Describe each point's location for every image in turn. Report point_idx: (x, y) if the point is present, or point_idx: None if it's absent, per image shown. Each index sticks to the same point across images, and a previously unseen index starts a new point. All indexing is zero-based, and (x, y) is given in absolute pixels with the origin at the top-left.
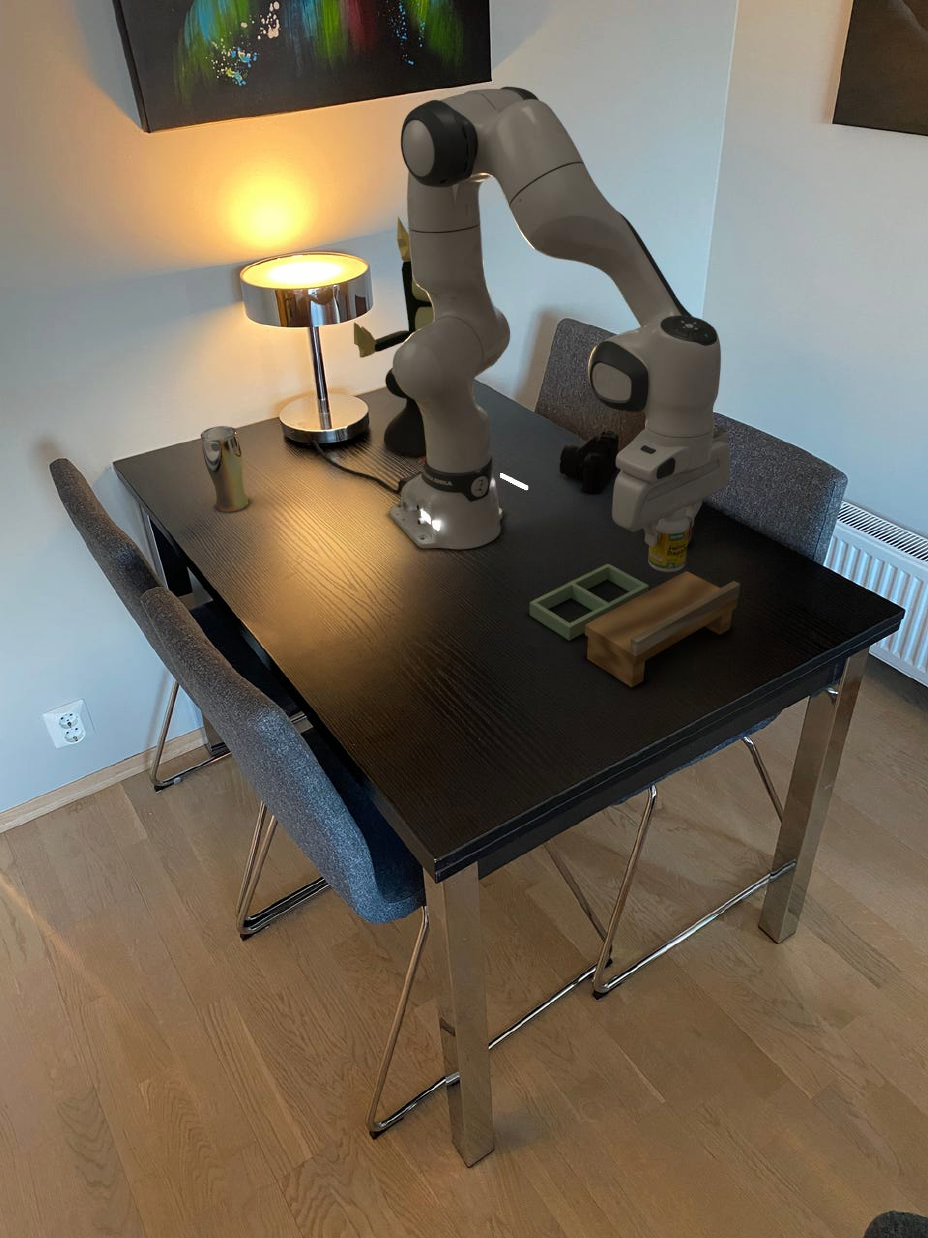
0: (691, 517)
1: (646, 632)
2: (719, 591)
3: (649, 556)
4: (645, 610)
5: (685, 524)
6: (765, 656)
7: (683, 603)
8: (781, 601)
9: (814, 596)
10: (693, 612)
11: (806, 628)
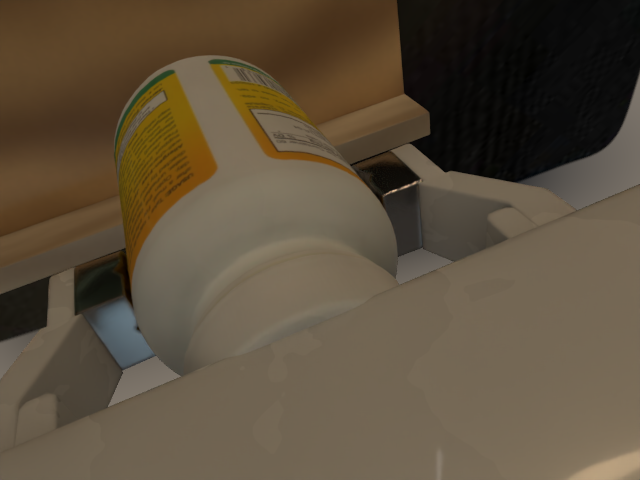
0: (425, 247)
1: (3, 277)
2: (354, 148)
3: (116, 152)
4: (95, 65)
5: None
6: None
7: None
8: (527, 18)
9: (587, 35)
10: None
11: (480, 131)
